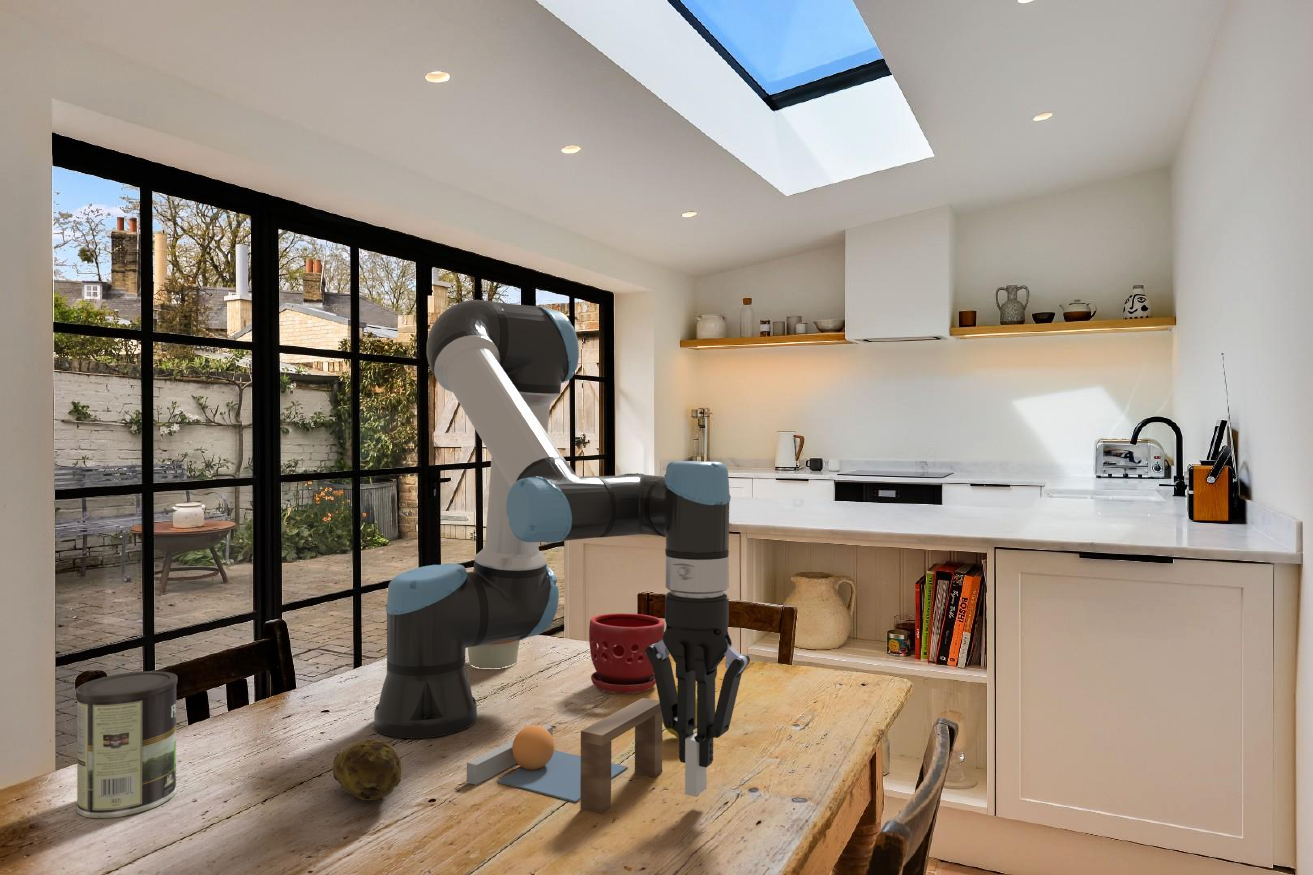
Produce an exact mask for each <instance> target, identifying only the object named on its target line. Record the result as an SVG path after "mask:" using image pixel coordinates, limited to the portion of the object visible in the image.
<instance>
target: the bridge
mask: <svg viewBox="0 0 1313 875" xmlns="http://www.w3.org/2000/svg"><path fill="white" fill-rule="evenodd" d="M662 720H663V717H662V711H661V706H660V701H659V699H658V700H657V699H651V698H646V697H642V698H640V699H638V700H636V701H634V702H633V703H630V704H628V705H627V706H624V707H623V708H620V709H619V710H617V711H615V712H614V713H612V714H610V715H608V716H606V717H604V718H603V719H600V720H599V721H597V722H595V723H593V724H591V725H590V726H587V727H586V728H585V727H584V728H583V729H582V730H580V756H581V780H580V800H579V801H580V803H579V804H580V805H579V806H580V807H579V808H580V810H582V811H584V812H589V813H593V814H596V815H599V816H603V815H605V814H606V813H607V812H608V811H610V810H612V779H611V763H612V741H613V740H615V739H617V738H618V737H620V736H622V735H623V734H625V733H627V732H629V731H631V730H632V729H634V773H635V774H640V775H644V776H647V777H648V776H649V777H652V778H656V777H657V776H658V775H660V774H661V773H662V772H663V722H662Z"/></svg>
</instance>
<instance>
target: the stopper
mask: <svg viewBox="0 0 1313 875" xmlns="http://www.w3.org/2000/svg"><path fill="white" fill-rule="evenodd" d="M540 726H541V727H543V728H545V729H546V730H548V731H549V733H550V734H551V735H552V737H553V734H554V733H553V731H554V730H553V728H554V727H553V726H550V725H546V724H545V725H544V724H543V725H540ZM553 738H554V737H553ZM513 741H514V739H512V740H510V741H507V742H506V743H504V744H502V745H500V746H498V747H496V748H494V749H491V750H489V751H488V752H485V753H483V754H481V755H479V756H477V757H475V758H473V759H471V760H469V761H467V762H466V783H467V784H470V785H471V784H472V785H475V786H478V785H479V784H481V783H483V782H485V781H487V780H488V779H490V778H492V777H494V776H496V775H498V774H500V773H502V772H503V771H505V770H507V769H509V768H511V767H514V766H515V765H517V764H518V763H517V762H516V760H515V759H514V756H513V752H512V745H513Z"/></svg>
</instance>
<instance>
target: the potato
mask: <svg viewBox="0 0 1313 875" xmlns="http://www.w3.org/2000/svg"><path fill="white" fill-rule="evenodd" d="M331 769H332V776H333V778H334V780H335V781H336V782H337V783H338V784H339V786H340V787H341V788H342V789H343V790H344V792H346V793H348V794H349V795H351V796H353V797H354V798H357V799H359V800H361V801H374V800H377V801H379V800H382V799H383V798H385V797H387V796H388V795H389V794H391V793H392V792H393V790H394V789H395V788H396V787H398V785H399V784H400V783H401V780H402V779H401V778H402V774H403V763H402V759H401V758H400V756H399V753H398V752H397V751H396V749H395V748H394V747H393V746H392V745H391V744H390V743H388V742H387V741H385V740H382V741H381V740H376V739H375V740H373V739H366V740H360V741H356V742H355V743H354V744H352V745H351V746H349V747H347V748H345V749H344V750H343V751H341V752H339V753H337V755H335V758H334V759H333V763H332V768H331Z"/></svg>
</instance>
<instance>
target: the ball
mask: <svg viewBox="0 0 1313 875" xmlns="http://www.w3.org/2000/svg"><path fill="white" fill-rule="evenodd" d="M541 726H542V725H535V724H534V725H533V724H532V725H528V726H526V727H524V728H522V729H521V730H519V731H518V733H517V734H516V735H515V737H514V739H513V740H514V741H513V745H512V752H513V756H514V759H515V760H516V762H517V764H518V765H519V766H520V768H521V767H523V768H525V769H529V770H535V769H539V768H542V767H543V766H545V765H546V764H547V763H548V762H549V761H550V759H551V758H552V756H553V753H554V750H555V742H554V741H555V740H554V737H552V735H551V734H550V733H549V731H548V730H546V729H545V728H543V727H541Z"/></svg>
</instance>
